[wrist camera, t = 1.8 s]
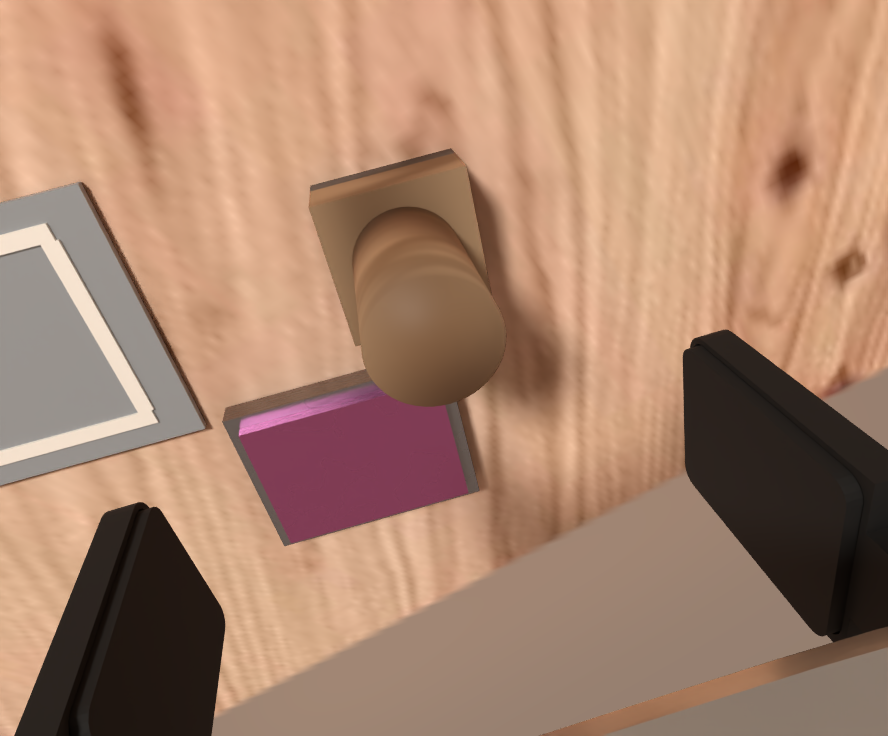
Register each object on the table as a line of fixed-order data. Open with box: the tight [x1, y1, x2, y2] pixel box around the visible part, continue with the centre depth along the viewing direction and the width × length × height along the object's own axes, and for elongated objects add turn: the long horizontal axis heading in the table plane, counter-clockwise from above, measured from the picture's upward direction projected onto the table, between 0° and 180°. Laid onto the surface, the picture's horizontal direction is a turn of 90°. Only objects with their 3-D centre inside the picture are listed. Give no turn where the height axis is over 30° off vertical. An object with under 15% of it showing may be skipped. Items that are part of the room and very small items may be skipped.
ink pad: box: [222, 369, 479, 546], centre depth 27 cm, size 9×7×2 cm
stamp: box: [309, 149, 506, 407], centre depth 19 cm, size 5×5×9 cm
